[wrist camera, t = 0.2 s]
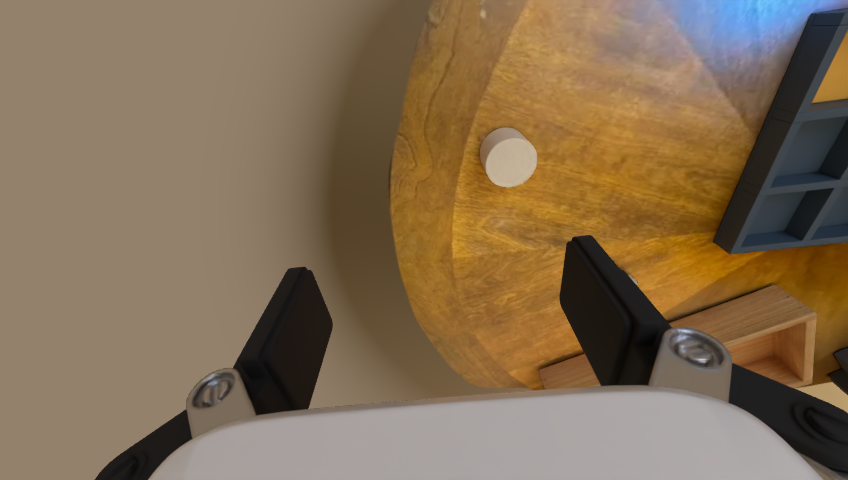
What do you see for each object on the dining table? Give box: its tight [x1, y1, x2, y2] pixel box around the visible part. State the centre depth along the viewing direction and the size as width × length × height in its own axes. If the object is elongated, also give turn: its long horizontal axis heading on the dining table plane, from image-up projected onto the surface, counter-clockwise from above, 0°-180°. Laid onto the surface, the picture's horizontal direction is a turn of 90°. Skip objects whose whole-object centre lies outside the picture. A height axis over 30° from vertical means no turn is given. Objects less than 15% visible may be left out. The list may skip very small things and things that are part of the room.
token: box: [480, 127, 537, 187], centre depth 29 cm, size 4×4×3 cm
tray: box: [538, 285, 817, 390], centre depth 45 cm, size 31×15×6 cm, turn 122°
